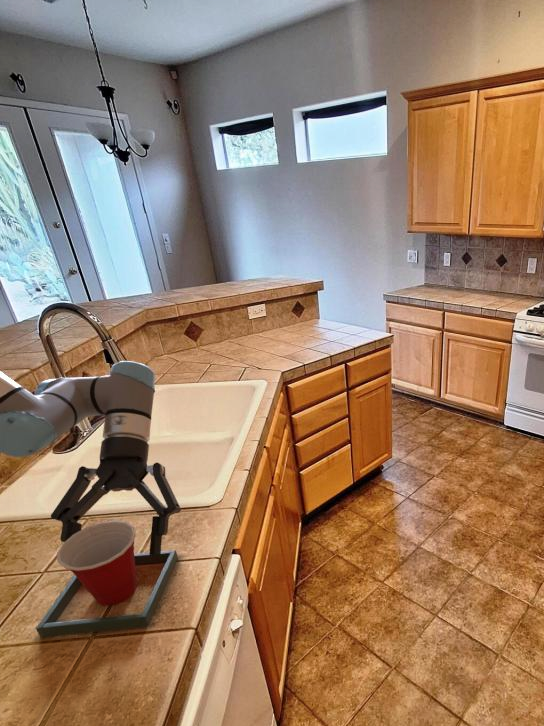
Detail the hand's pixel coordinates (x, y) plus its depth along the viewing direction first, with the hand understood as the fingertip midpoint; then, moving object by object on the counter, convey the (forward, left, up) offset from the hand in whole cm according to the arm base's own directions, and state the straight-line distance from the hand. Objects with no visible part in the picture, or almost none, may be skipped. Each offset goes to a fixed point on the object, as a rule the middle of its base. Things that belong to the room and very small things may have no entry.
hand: (112, 558), depth 74 cm
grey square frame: (0, -2, -7) cm, 7 cm away
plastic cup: (0, -2, -6) cm, 7 cm away
